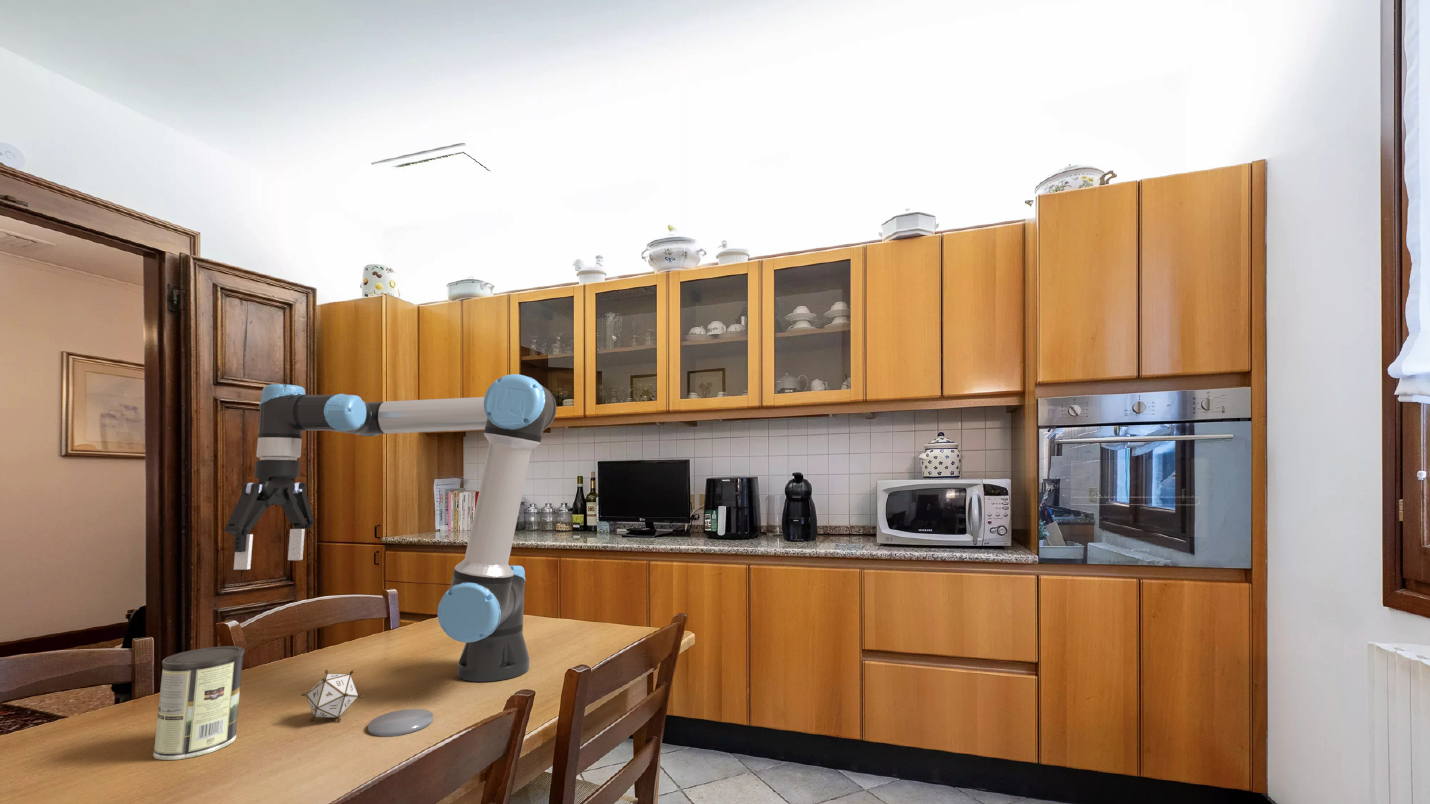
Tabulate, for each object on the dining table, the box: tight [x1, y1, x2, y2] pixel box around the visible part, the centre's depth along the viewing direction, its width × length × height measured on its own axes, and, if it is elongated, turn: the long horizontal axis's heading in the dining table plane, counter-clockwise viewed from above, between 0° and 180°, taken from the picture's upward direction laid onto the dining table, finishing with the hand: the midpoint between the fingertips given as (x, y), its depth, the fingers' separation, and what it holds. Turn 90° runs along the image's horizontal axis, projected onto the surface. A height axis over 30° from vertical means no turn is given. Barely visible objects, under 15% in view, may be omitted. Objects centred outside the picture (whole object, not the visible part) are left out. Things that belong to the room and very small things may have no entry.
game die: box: [300, 669, 364, 723], centre depth 109 cm, size 9×8×10 cm
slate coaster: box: [367, 708, 434, 737], centre depth 106 cm, size 10×10×1 cm
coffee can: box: [152, 645, 245, 761], centre depth 98 cm, size 10×10×14 cm
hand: (269, 564), depth 123 cm, fingers open, 13 cm apart
